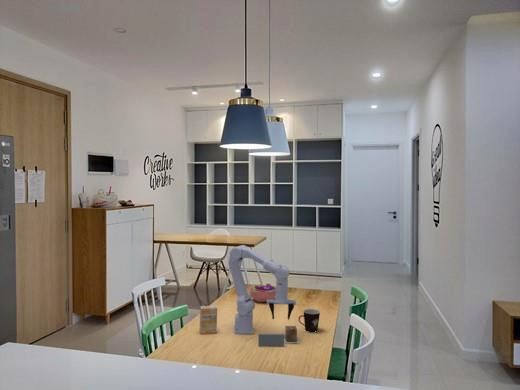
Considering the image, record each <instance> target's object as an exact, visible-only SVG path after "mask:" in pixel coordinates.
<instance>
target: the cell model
mask: <svg viewBox="0 0 520 390" xmlns="http://www.w3.org/2000/svg"><path fill="white" fill-rule="evenodd" d="M248 290H249V291H248V292H249V293H248V294H249V295H250V296H251V299H252V300H253V301H256V302H259V303H265V302H266V303H267V299H275V298H276V286H272V285H271V284H270V283H266V284H265V285H255V286H252V287H250V288H249V289H248Z"/></svg>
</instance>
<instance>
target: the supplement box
mask: <svg viewBox="0 0 520 390" xmlns="http://www.w3.org/2000/svg"><path fill="white" fill-rule="evenodd" d="M199 307H200V308H199V333H200V335H208V334H217V332H218V331H217V328H218V307H217V305H201V306H199Z"/></svg>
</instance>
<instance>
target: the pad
mask: <svg viewBox="0 0 520 390" xmlns="http://www.w3.org/2000/svg"><path fill="white" fill-rule="evenodd" d="M284 343H299V344H300V341H299V338H298V337H297V342H286V339H285V336H284Z"/></svg>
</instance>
